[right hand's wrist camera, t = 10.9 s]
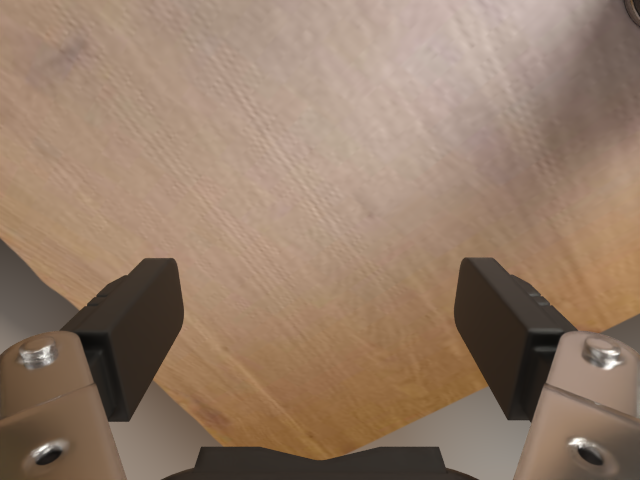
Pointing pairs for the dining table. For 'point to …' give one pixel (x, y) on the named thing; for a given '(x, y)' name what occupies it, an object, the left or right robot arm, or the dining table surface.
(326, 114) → the dining table surface
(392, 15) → the dining table surface
